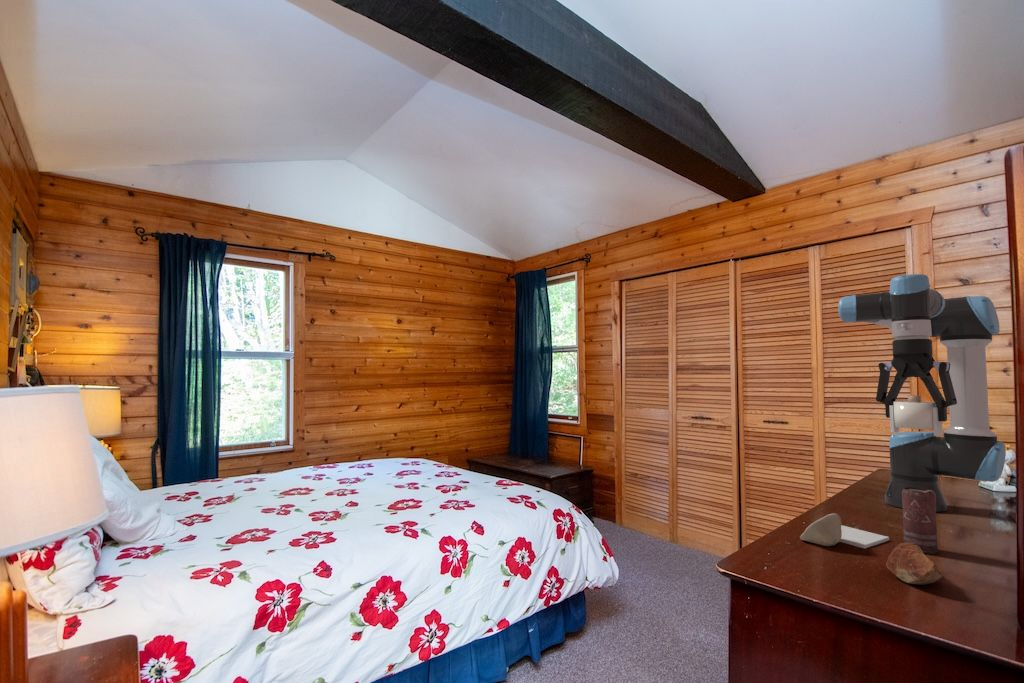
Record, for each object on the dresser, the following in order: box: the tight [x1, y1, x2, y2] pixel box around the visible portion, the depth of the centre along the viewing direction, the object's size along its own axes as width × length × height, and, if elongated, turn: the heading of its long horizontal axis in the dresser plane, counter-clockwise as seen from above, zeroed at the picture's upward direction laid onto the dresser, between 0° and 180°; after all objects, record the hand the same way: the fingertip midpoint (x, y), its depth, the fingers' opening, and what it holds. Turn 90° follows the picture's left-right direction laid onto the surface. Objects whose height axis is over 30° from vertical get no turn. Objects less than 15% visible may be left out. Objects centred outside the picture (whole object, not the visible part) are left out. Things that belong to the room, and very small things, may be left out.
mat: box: [839, 524, 890, 549], centre depth 126 cm, size 12×12×1 cm
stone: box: [799, 512, 842, 547], centre depth 121 cm, size 10×7×10 cm
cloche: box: [894, 394, 937, 430], centre depth 119 cm, size 8×8×8 cm
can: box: [902, 487, 939, 555], centre depth 118 cm, size 6×6×14 cm
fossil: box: [885, 542, 943, 586], centre depth 100 cm, size 13×8×10 cm
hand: (915, 433), depth 119 cm, fingers closed on cloche, 8 cm apart
